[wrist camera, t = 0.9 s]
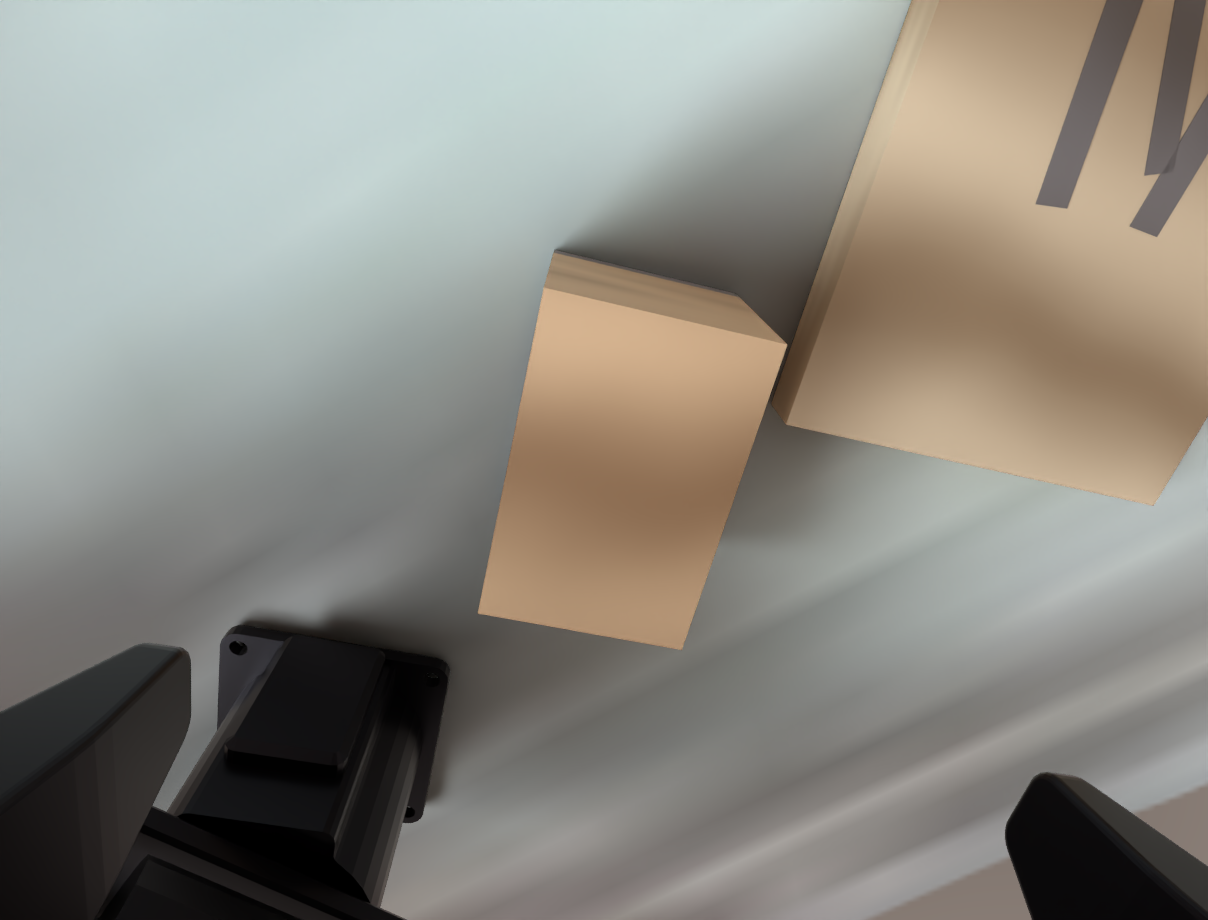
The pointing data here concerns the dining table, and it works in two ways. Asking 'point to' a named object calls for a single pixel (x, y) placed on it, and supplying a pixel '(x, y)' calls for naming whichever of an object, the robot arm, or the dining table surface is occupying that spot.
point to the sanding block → (626, 451)
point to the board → (1023, 248)
